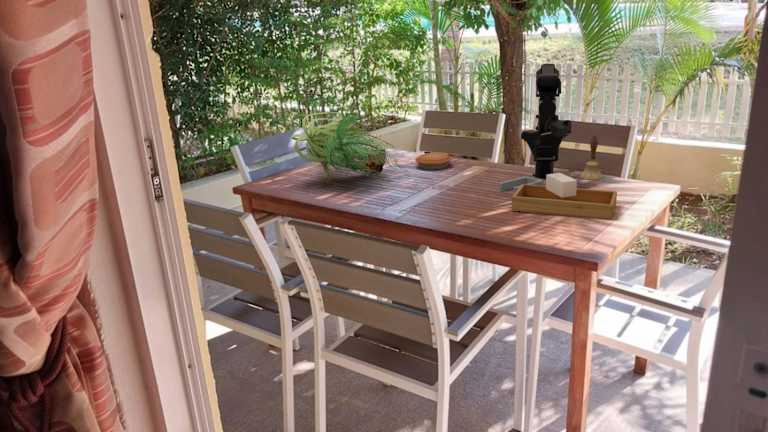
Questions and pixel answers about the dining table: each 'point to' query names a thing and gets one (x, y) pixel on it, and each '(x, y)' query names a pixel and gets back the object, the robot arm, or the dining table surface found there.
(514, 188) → the holder
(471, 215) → the dining table surface
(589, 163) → the hand bell
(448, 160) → the pie
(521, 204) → the tray
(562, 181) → the block
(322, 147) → the plant
